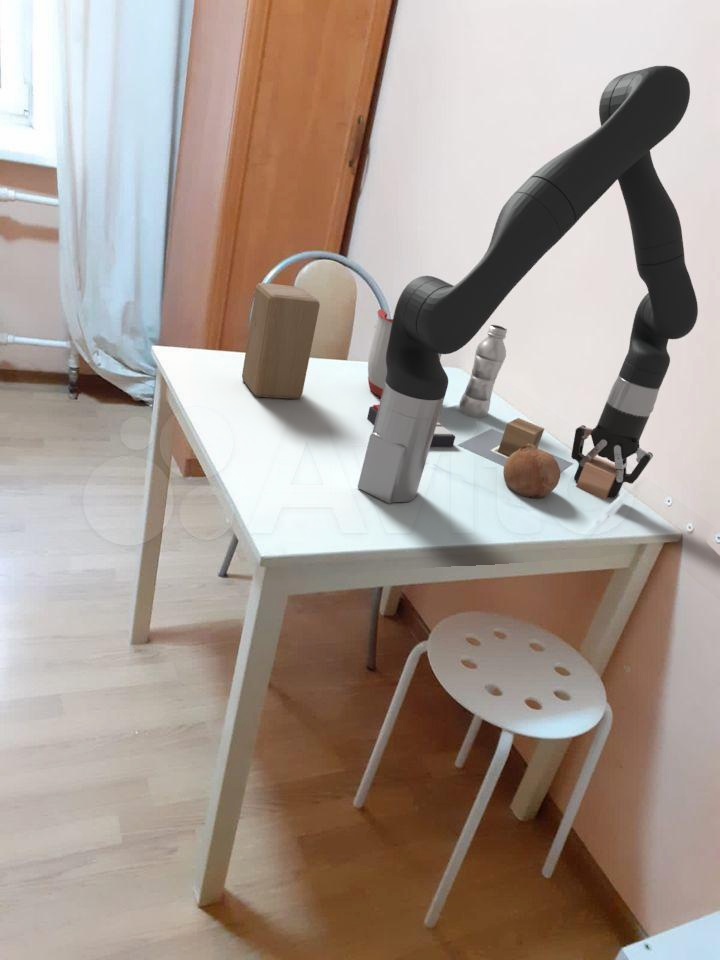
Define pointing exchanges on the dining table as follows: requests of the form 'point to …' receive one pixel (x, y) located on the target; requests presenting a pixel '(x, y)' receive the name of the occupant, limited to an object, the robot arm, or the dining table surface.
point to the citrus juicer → (379, 353)
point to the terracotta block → (597, 477)
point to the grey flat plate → (489, 446)
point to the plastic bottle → (484, 373)
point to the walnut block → (519, 436)
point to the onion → (531, 472)
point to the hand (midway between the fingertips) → (594, 490)
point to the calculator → (439, 438)
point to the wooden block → (279, 340)
